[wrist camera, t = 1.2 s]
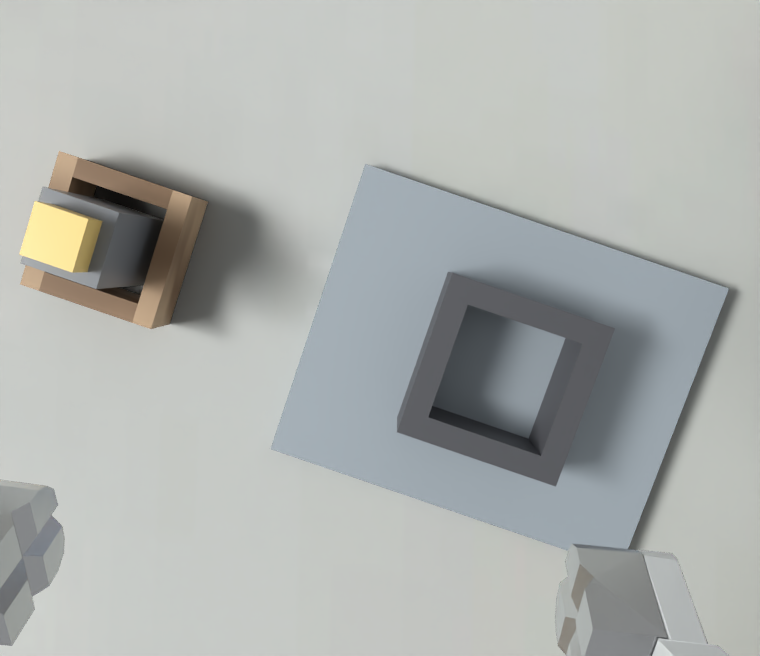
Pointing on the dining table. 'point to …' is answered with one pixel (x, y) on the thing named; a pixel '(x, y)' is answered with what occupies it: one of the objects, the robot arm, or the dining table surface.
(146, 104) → the dining table surface
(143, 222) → the plug
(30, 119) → the dining table surface
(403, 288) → the port
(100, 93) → the dining table surface
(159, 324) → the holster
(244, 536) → the dining table surface
